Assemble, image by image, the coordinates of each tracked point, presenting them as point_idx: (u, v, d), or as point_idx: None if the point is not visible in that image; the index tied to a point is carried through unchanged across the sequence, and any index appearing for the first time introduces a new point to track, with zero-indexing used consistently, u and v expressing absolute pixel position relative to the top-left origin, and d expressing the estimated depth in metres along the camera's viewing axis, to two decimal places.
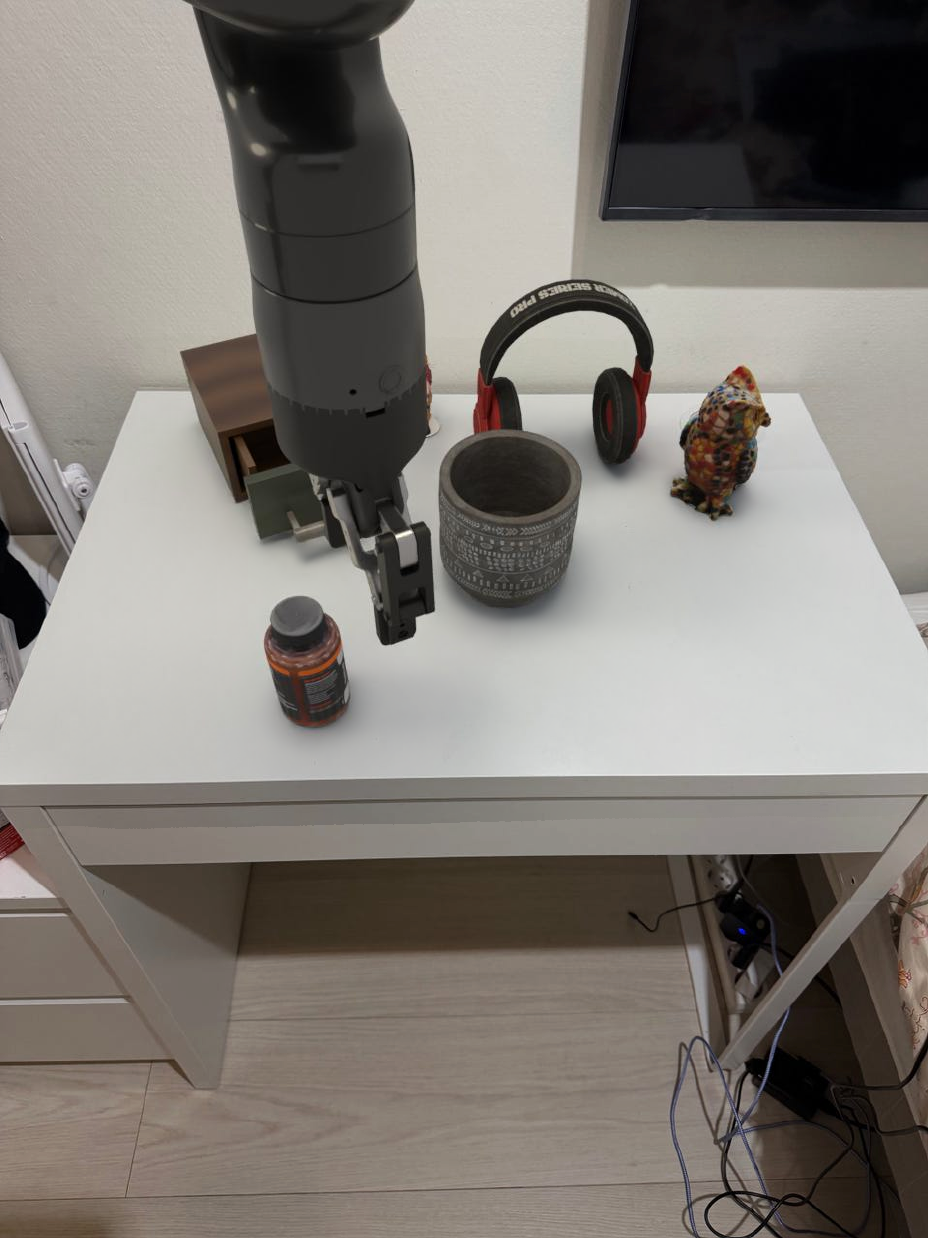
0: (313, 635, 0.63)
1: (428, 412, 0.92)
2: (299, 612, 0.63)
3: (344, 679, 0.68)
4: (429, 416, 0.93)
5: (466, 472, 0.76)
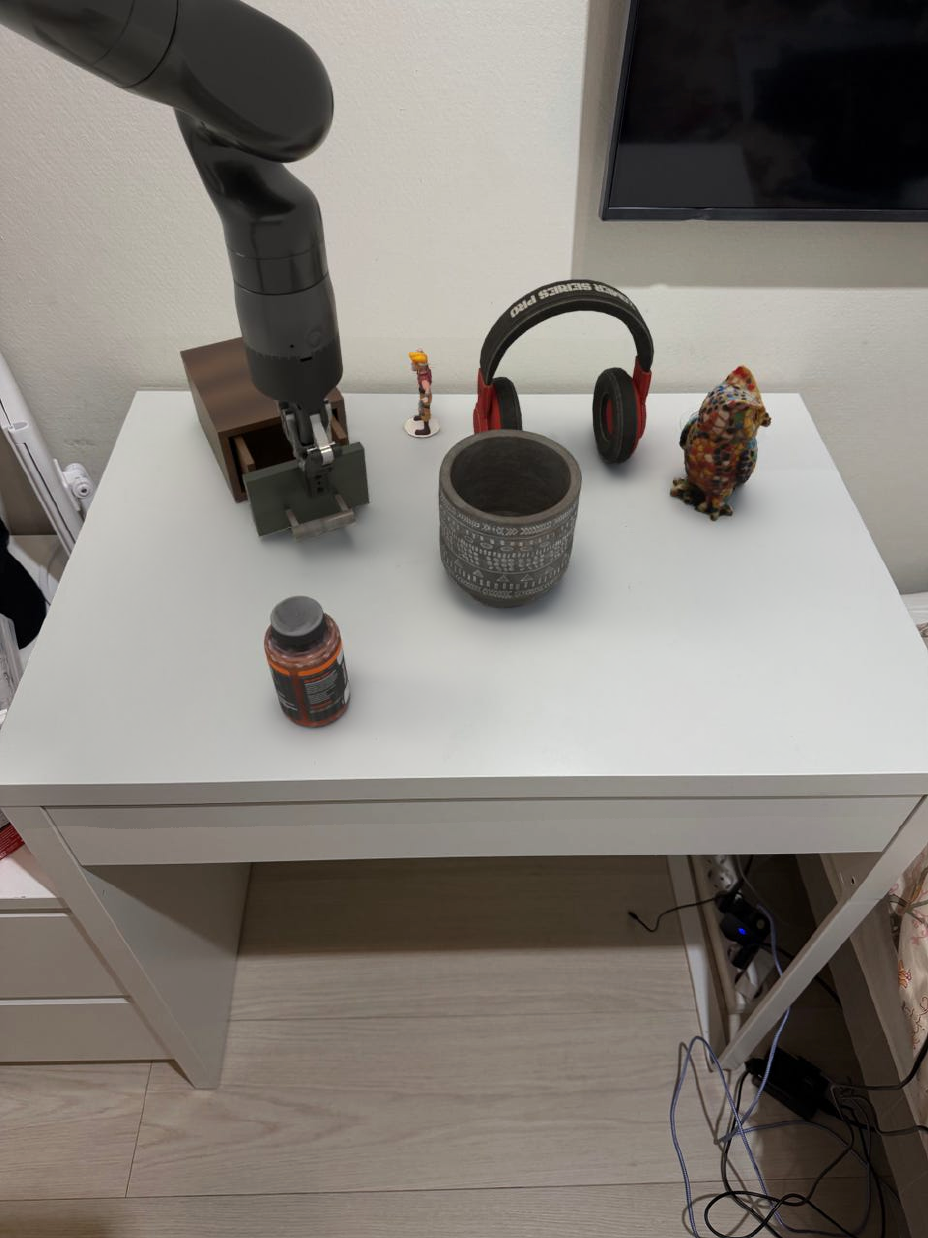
0: (313, 635, 0.63)
1: (428, 412, 0.92)
2: (299, 612, 0.63)
3: (344, 679, 0.68)
4: (429, 416, 0.93)
5: (467, 472, 0.76)
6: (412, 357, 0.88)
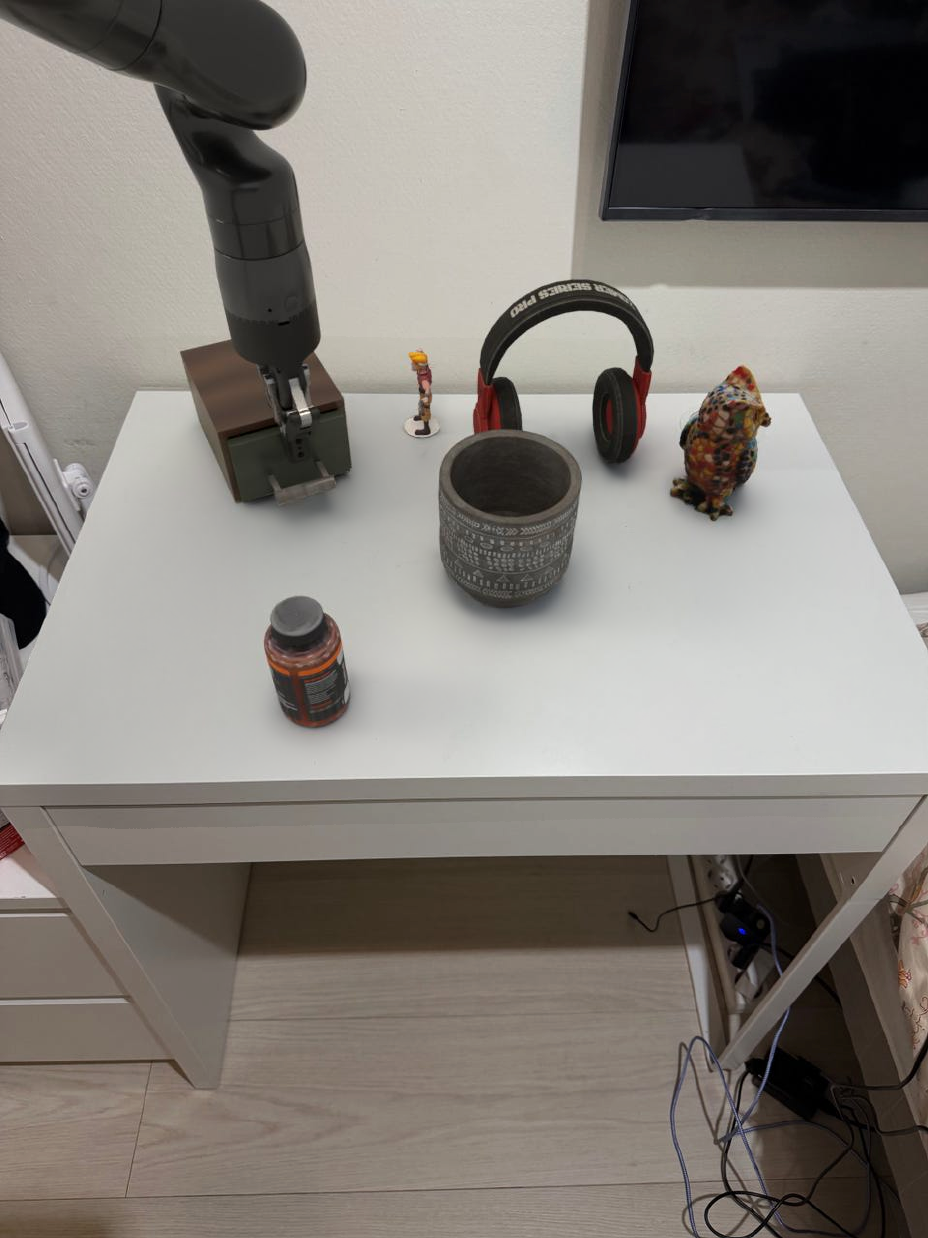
0: (313, 635, 0.63)
1: (428, 412, 0.92)
2: (299, 612, 0.63)
3: (344, 679, 0.68)
4: (429, 416, 0.93)
5: (467, 472, 0.76)
6: (412, 357, 0.88)
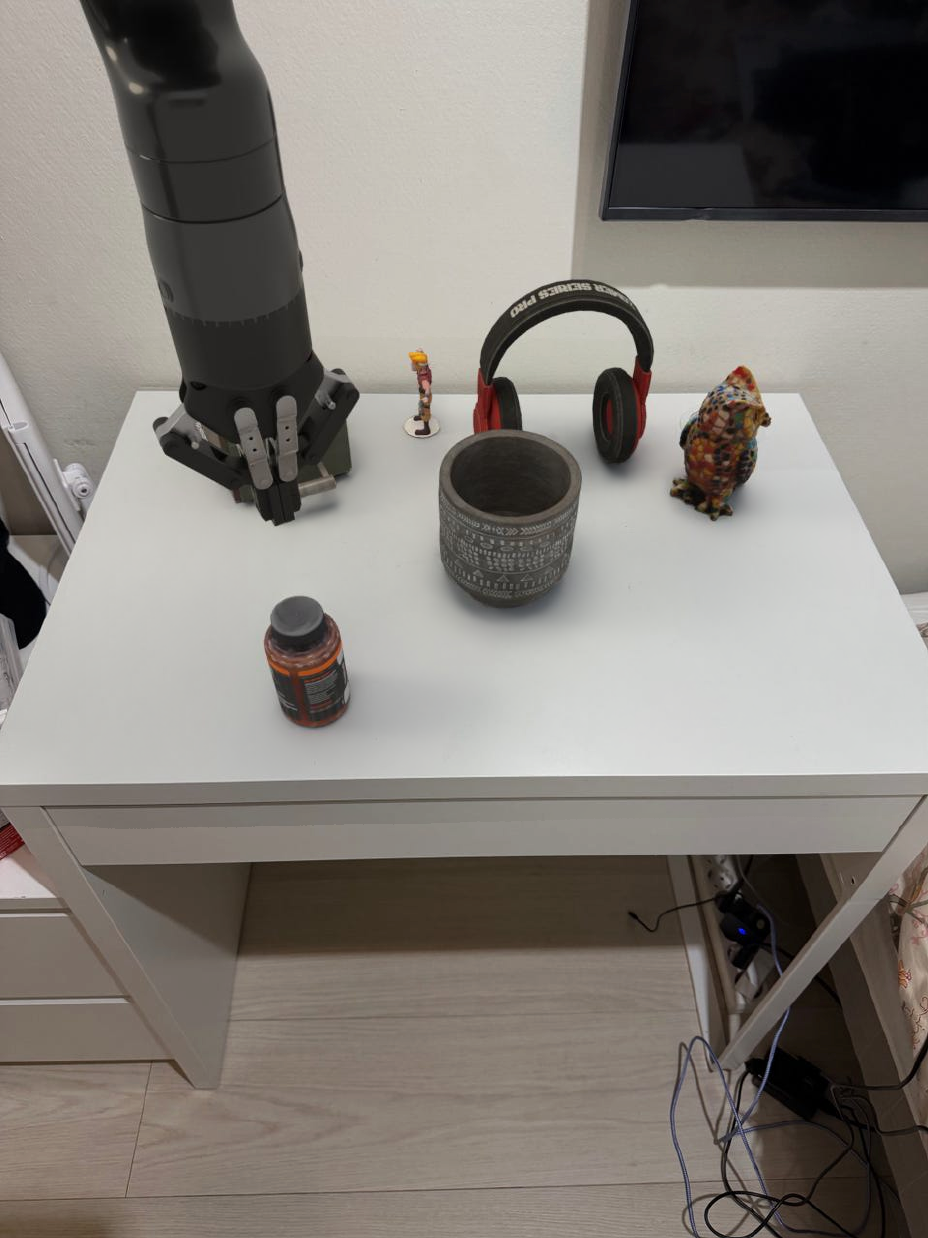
0: (313, 635, 0.63)
1: (428, 412, 0.92)
2: (299, 612, 0.63)
3: (344, 679, 0.68)
4: (429, 416, 0.93)
5: (467, 472, 0.76)
6: (412, 357, 0.88)
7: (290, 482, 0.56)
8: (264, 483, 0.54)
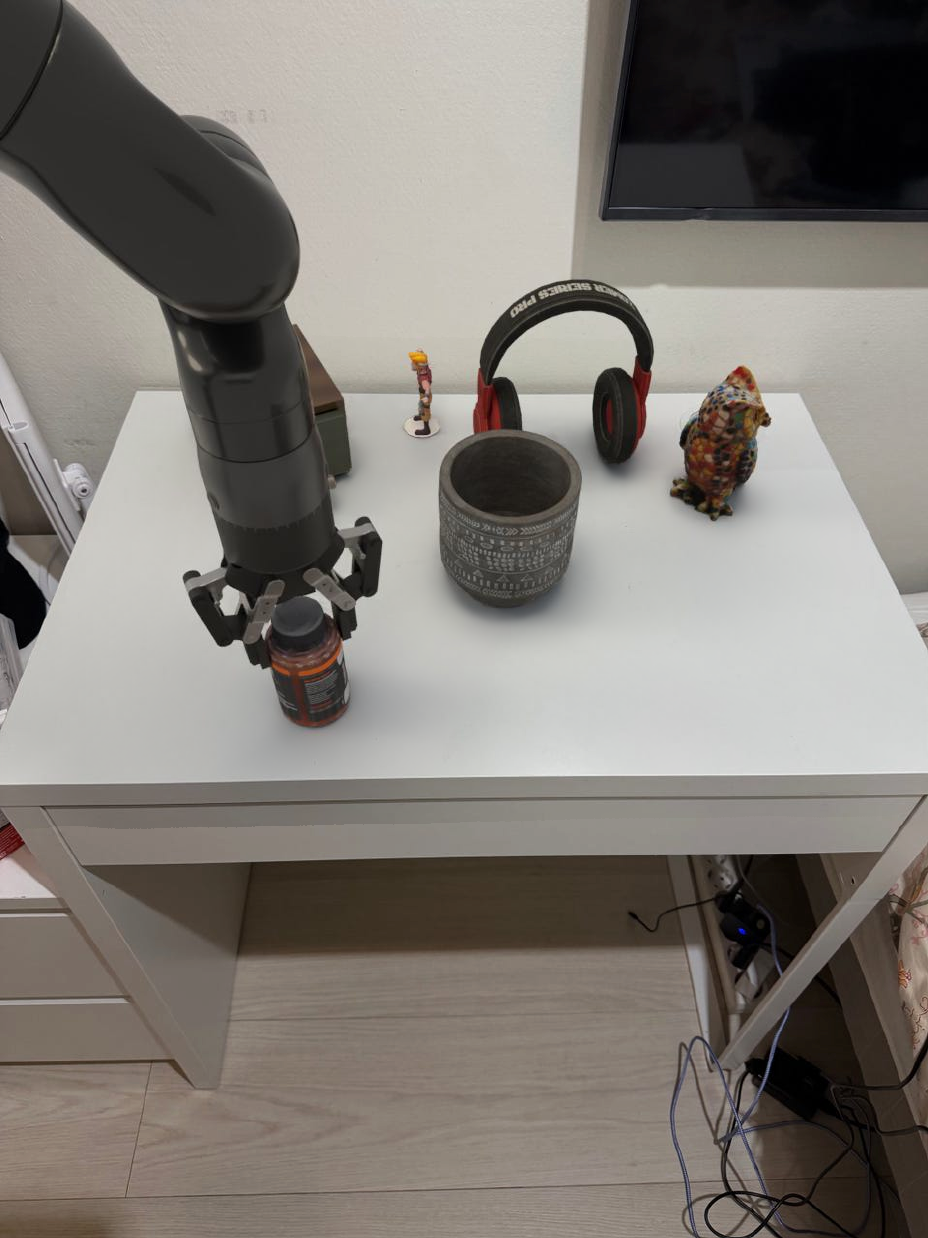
0: (313, 635, 0.63)
1: (428, 412, 0.92)
2: (299, 612, 0.63)
3: (344, 679, 0.68)
4: (429, 416, 0.93)
5: (467, 472, 0.76)
6: (412, 357, 0.88)
7: (349, 609, 0.64)
8: (251, 639, 0.61)
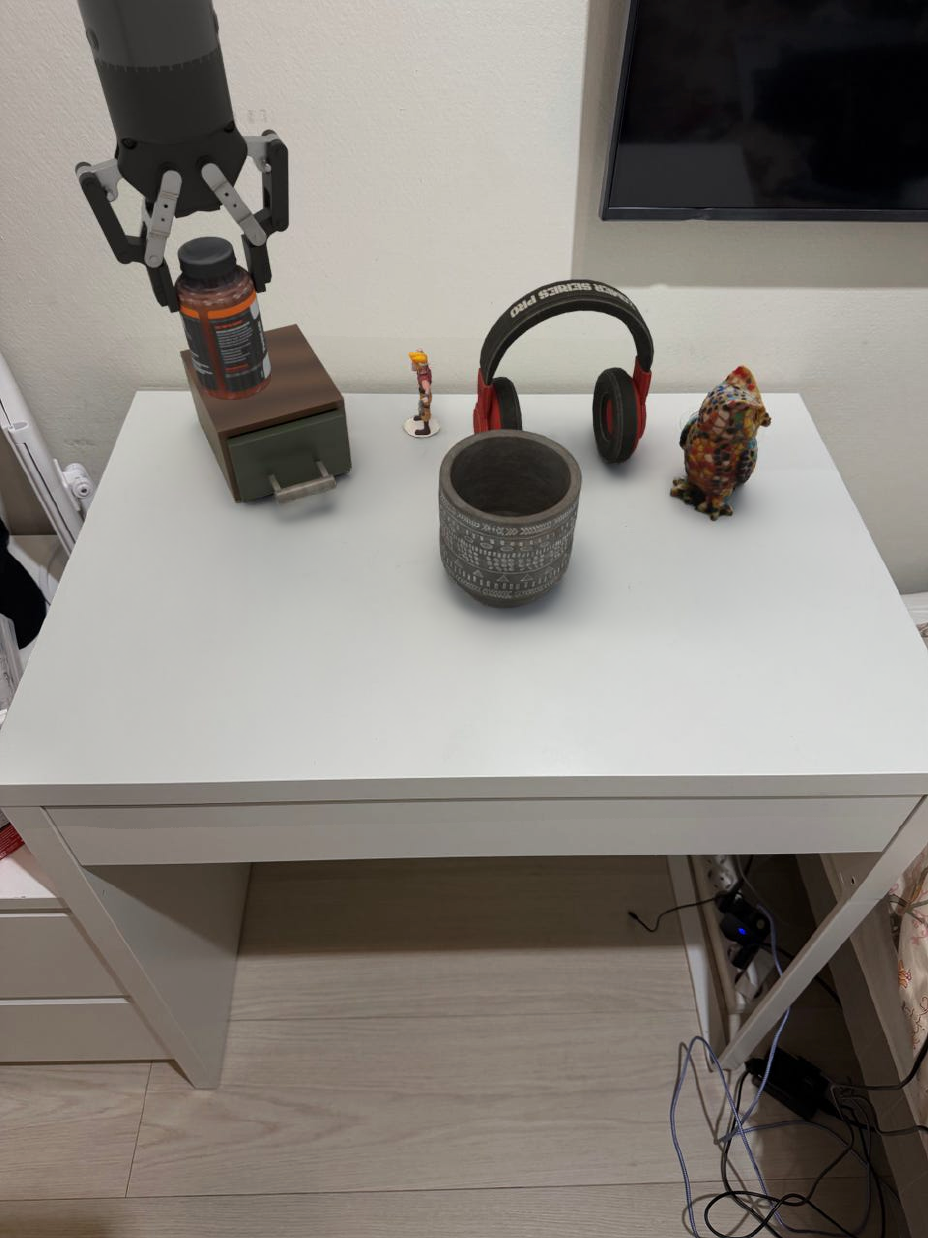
0: (221, 268, 0.60)
1: (428, 412, 0.92)
2: (207, 247, 0.61)
3: (262, 345, 0.66)
4: (429, 416, 0.93)
5: (467, 472, 0.76)
6: (412, 357, 0.88)
7: (261, 249, 0.62)
8: (153, 260, 0.58)
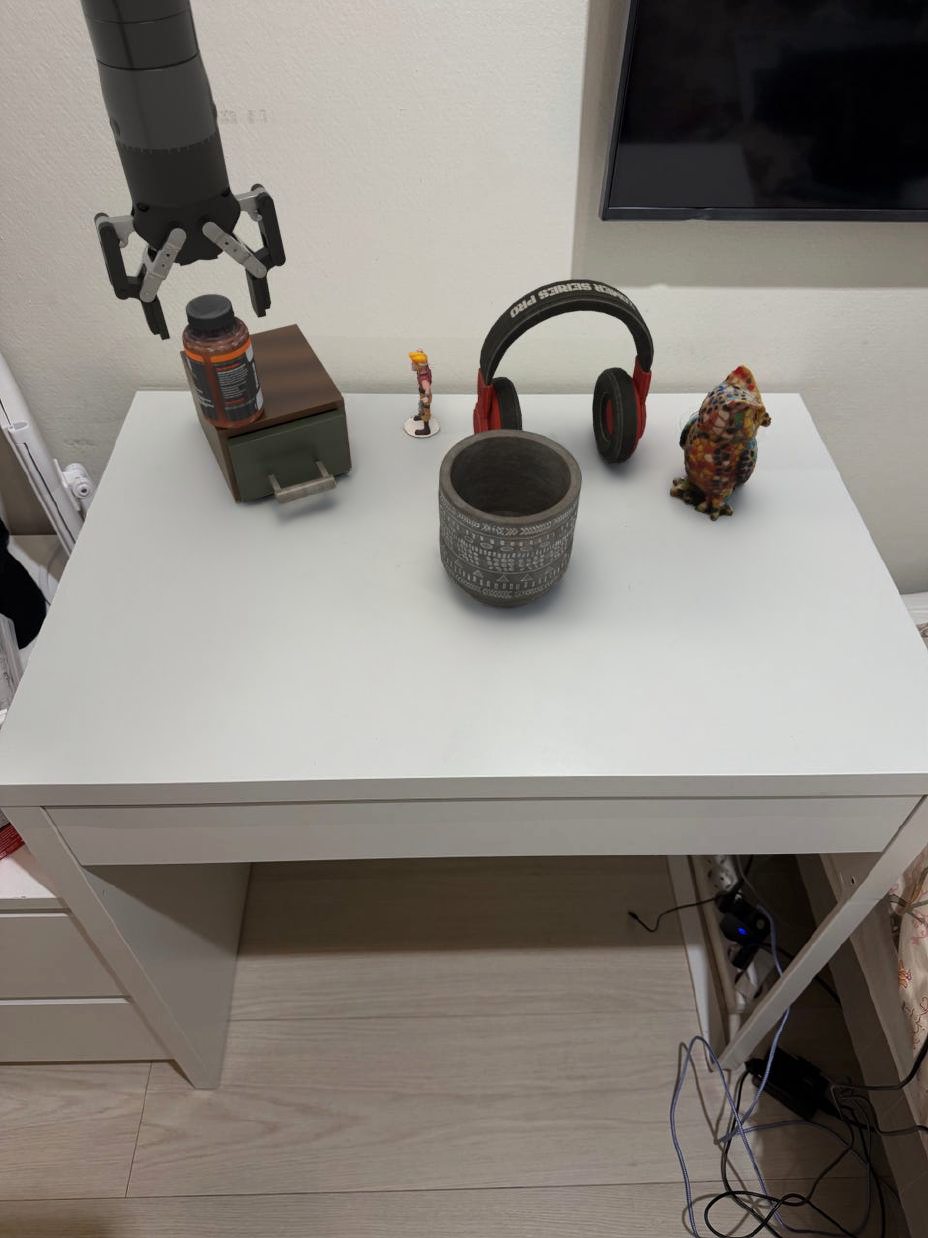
0: (222, 321, 0.73)
1: (428, 412, 0.92)
2: (210, 303, 0.74)
3: (255, 382, 0.79)
4: (429, 416, 0.93)
5: (467, 472, 0.76)
6: (412, 357, 0.88)
7: (262, 281, 0.73)
8: (147, 296, 0.69)
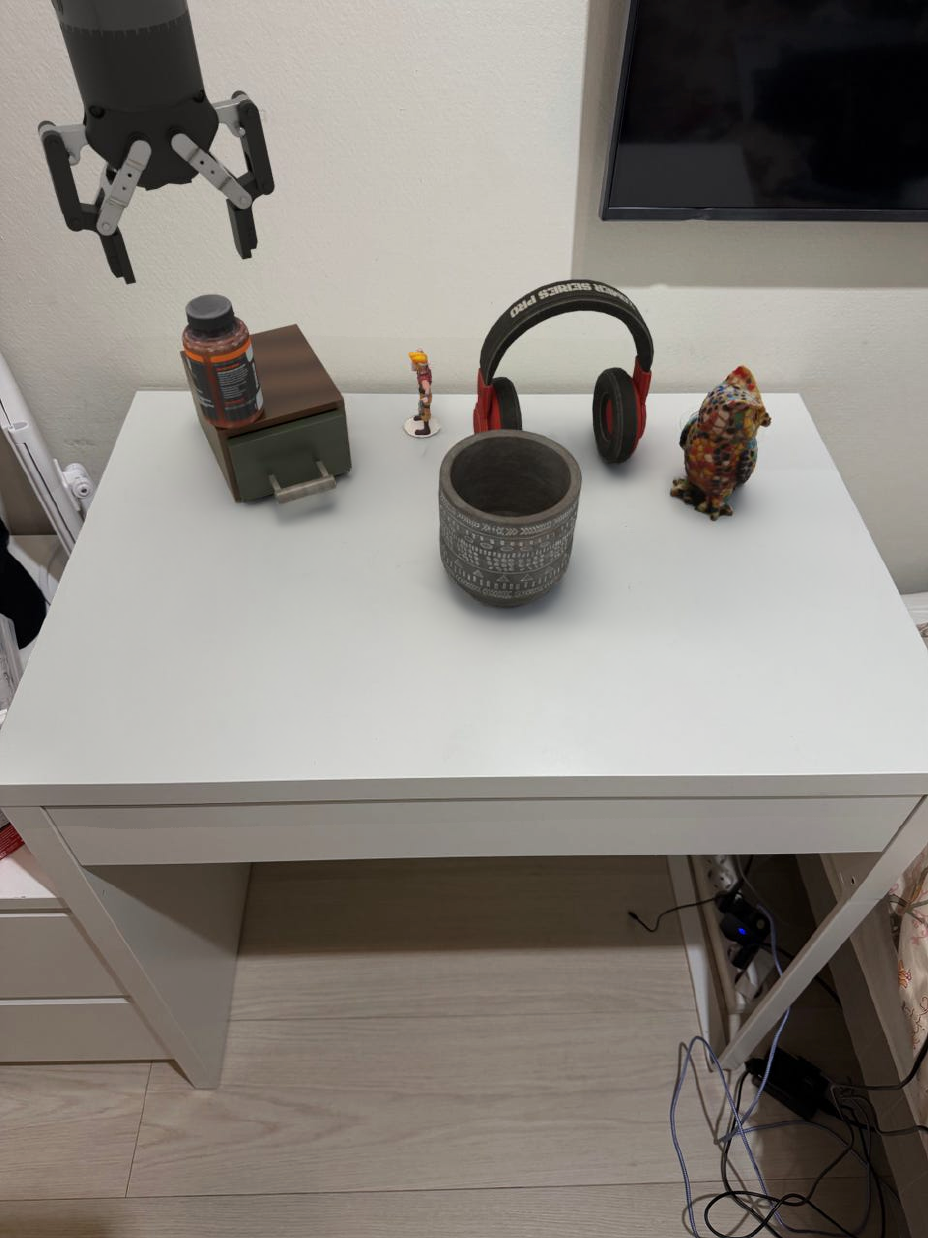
0: (222, 321, 0.73)
1: (428, 412, 0.92)
2: (210, 303, 0.73)
3: (255, 382, 0.79)
4: (429, 416, 0.93)
5: (467, 472, 0.76)
6: (412, 357, 0.88)
7: (246, 213, 0.61)
8: (106, 227, 0.57)
